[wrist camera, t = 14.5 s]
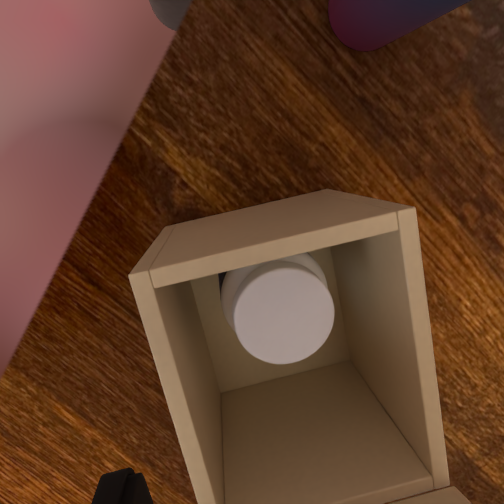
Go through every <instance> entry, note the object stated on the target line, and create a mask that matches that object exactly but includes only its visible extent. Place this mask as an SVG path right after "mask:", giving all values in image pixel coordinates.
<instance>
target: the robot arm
mask: <svg viewBox="0 0 504 504" xmlns="http://www.w3.org/2000/svg"><path fill="white" fill-rule="evenodd" d="M92 504H153V501H152V498H151V495H150V492H149V489H148V487H147V484H146V481H145V478H144V476H143V474H142V473H137V474H135V473H134V470H133V469H132V468H126V469H122V470H118V471H114V472H110V473H106V474H103V475H102V476H101V478H100V480H99V483H98V486H97V489H96V492H95V495H94V498H93V501H92Z"/></svg>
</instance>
